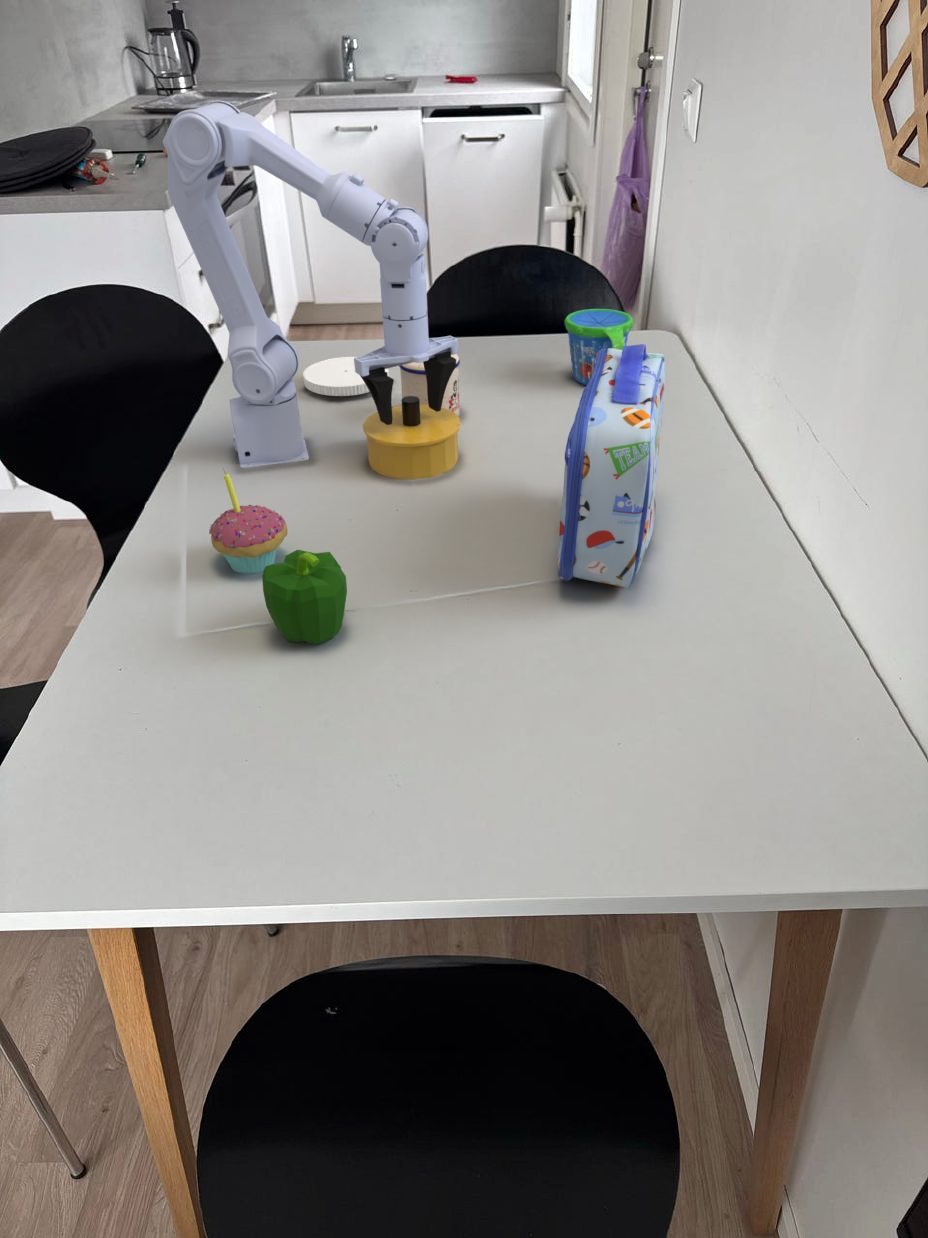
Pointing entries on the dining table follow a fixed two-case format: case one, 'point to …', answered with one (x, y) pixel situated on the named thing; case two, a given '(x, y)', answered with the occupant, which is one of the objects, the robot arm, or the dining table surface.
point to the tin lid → (412, 425)
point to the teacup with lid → (417, 385)
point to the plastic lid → (335, 377)
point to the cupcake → (247, 534)
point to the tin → (413, 459)
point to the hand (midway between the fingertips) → (410, 415)
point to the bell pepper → (306, 596)
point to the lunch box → (612, 468)
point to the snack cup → (594, 337)
